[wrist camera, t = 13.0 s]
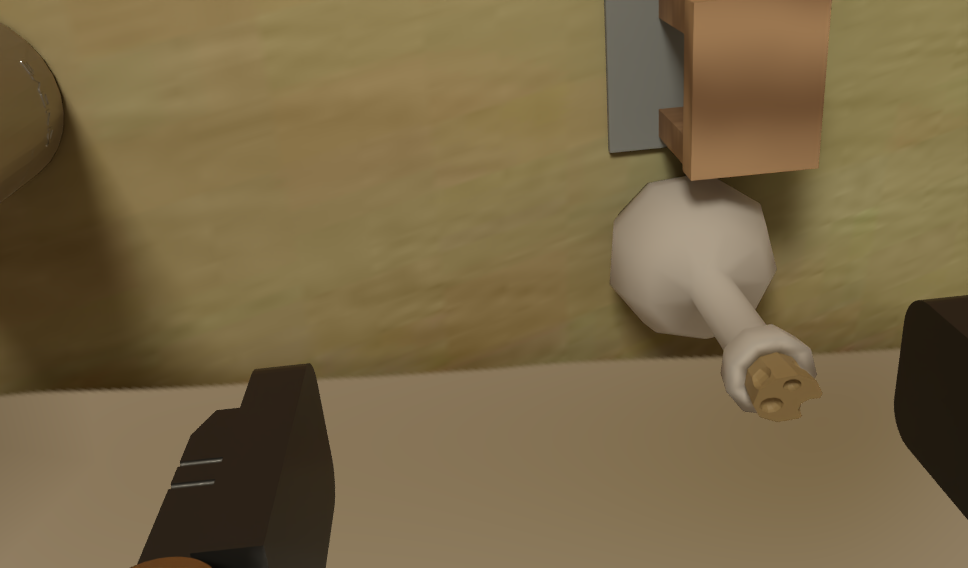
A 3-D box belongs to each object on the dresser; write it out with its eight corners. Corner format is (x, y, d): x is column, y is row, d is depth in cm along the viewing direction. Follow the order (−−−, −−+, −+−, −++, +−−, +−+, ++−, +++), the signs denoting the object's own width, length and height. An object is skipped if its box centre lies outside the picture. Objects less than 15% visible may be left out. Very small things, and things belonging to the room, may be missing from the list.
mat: (608, 150, 48) (609, 153, 48) (603, -23, 44) (605, -22, 44) (808, 130, 48) (811, 132, 48) (821, -45, 45) (824, -44, 44)
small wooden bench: (655, -17, 44) (694, 2, 38) (774, -28, 44) (832, -11, 38) (655, 139, 48) (691, 180, 41) (766, 128, 48) (818, 168, 41)
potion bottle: (775, 185, 50) (946, 338, 33) (706, 319, 53) (831, 518, 37) (634, 136, 48) (741, 271, 32) (571, 277, 51) (640, 466, 35)
